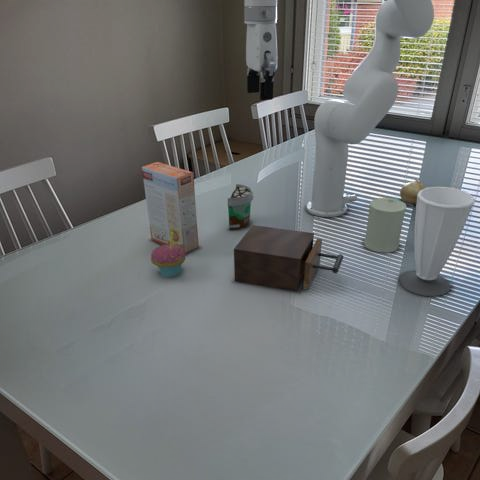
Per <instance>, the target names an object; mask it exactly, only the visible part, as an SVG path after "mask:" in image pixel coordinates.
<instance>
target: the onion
mask: <svg viewBox="0 0 480 480" xmlns="http://www.w3.org/2000/svg"><path fill="white" fill-rule="evenodd" d="M425 188H426V187H425V185H424V184H423V183H422V182H421V180H420V179H416V178H414V181H409V182H407V183H405V184H403V186H402V187H401V188H400V191H399V195H400V199H401V201H402V202H404V203H405V204H406V205H416V204H417V195H418V193H419V192H420V191H421V190H423V189H425Z"/></svg>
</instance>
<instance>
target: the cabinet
mask: <svg viewBox="0 0 480 480" xmlns="http://www.w3.org/2000/svg"><path fill="white" fill-rule="evenodd" d="M314 239H315V233H314V232H309V231H301V230H293V229H285V228H278V227H270V226H264V225H258V224H257V225H256V224H252V225H251V226H250V228H249V229H248V230H247V231H246V233H245V234H244V235H243V237H241V239H240V240H239V242H237V244H236V245H235V247H234V248H233V271H234V273H233V274H234V282H235V283H241V284H248V285H254V286H258V287H264V288H265V287H266V288H269V289H270V288H271V289H276V290H282V291H288V292H294V293H299V292H300V290H301V288H302V286H303V285H304V274H305V272H304V274H303V276H302V278H301V280H300V271H301V260H302V258H303V256H304V254H305V252H306V250H307V249H308V247H309V245H310V252H311V250H312V248H313V246H314ZM310 243H311V244H310Z"/></svg>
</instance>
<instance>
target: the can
mask: <svg viewBox="0 0 480 480" xmlns="http://www.w3.org/2000/svg"><path fill="white" fill-rule="evenodd" d="M406 209H407V203H405V202H403V201H402V200H400V199H396V198H391V197H379V198H375V199H372V200H370V202H369V208H368V218H367V223H366V224H367V225H366V231H365V237H364V241H363V245H364V247H365V248H367V249H368V250H369V251H373V252H375V253H393V252H395V251H397V250H399V248H400V239H401V235H402V229H403V224H404V219H405V215H406Z"/></svg>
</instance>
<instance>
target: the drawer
mask: <svg viewBox="0 0 480 480" xmlns="http://www.w3.org/2000/svg"><path fill="white" fill-rule="evenodd" d="M310 244H311V243H310ZM322 245H323V238H316V240H315V243H313V248H312V250H311V252H310V245H309V247H308V249H307V250H306V252H305V254H304V256H303V258H302V260H301V271H300V280H301V278H302V276H303V274H304V272H305V274H304V281H303V289H304V290H309V289H310V287H311V285H312V282H313V280H314V278H315V276H316V274H317V271H318V270H324V271H330V272H332V273H333V274H338V272H339V270H340V267H341V265H342V262H343V259H344V255H343V254H341V253H340V254H336V255H335V254H328V253H322ZM321 258H329V259H335V260H334V264H333V266H325V265H321Z"/></svg>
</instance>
